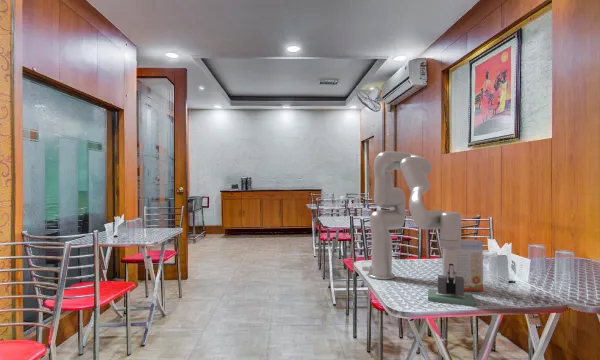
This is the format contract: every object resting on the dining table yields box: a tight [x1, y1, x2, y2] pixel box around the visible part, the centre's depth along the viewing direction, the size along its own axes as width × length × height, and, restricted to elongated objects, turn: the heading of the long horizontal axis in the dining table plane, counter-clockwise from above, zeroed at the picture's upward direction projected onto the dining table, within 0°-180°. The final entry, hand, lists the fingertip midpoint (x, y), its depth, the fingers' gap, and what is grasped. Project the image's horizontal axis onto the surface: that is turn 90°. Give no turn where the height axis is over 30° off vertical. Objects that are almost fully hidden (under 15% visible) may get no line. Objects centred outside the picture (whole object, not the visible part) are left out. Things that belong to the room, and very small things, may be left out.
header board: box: [427, 288, 476, 307], centre depth 140 cm, size 16×12×6 cm
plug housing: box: [437, 274, 465, 296], centre depth 140 cm, size 9×5×6 cm, turn 71°
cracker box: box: [445, 238, 484, 292], centre depth 154 cm, size 14×6×21 cm, turn 89°
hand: (450, 291), depth 140 cm, fingers closed on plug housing, 5 cm apart
